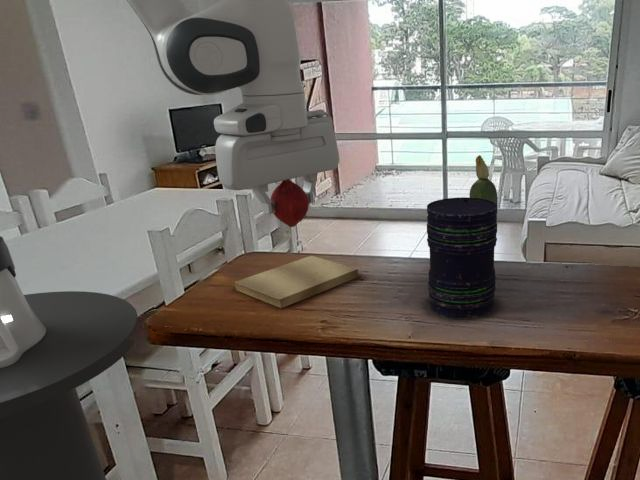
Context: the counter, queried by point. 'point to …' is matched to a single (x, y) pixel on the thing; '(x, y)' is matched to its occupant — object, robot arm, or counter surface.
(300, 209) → the onion
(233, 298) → the counter surface
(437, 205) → the storage jar
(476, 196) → the vegetable
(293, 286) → the cutting board
